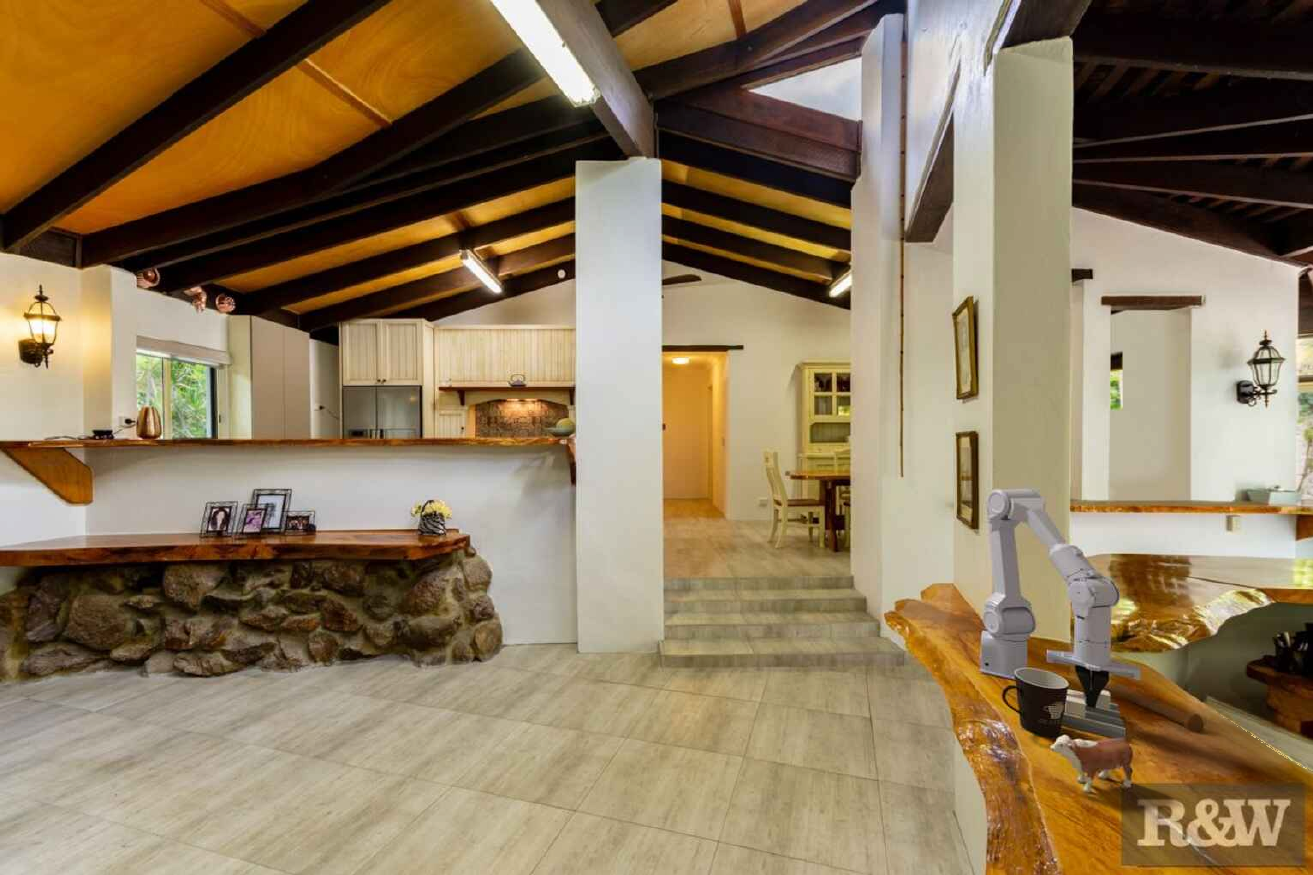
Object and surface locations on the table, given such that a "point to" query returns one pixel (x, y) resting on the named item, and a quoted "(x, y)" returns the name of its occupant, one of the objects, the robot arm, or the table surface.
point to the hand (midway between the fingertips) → (1090, 705)
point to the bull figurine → (1096, 757)
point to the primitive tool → (1158, 707)
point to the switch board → (1098, 721)
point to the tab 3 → (1104, 700)
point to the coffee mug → (1039, 701)
